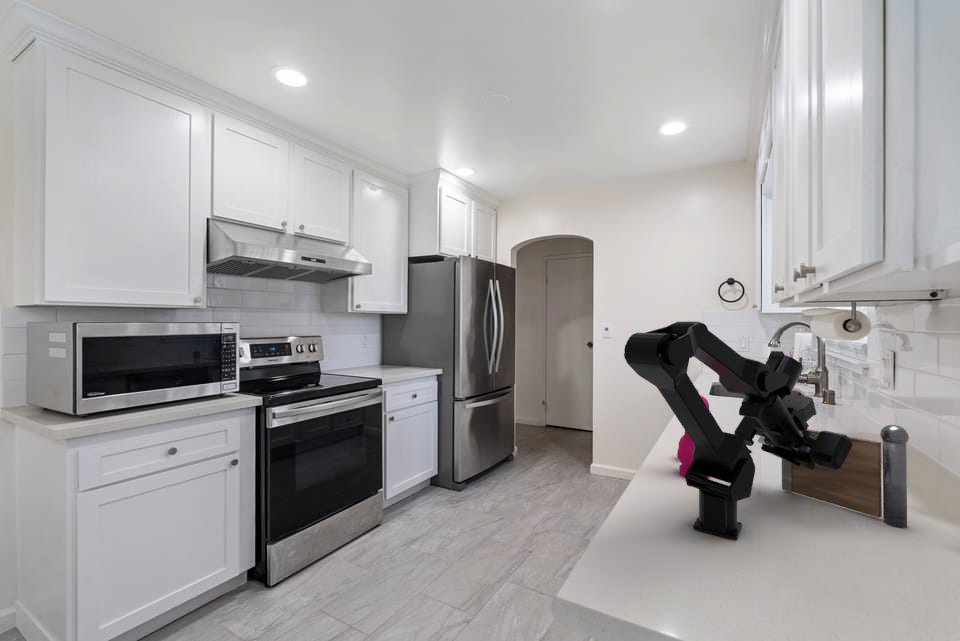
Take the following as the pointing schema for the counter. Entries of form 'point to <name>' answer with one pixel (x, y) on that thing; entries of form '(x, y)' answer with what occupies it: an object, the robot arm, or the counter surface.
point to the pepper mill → (687, 449)
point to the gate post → (894, 475)
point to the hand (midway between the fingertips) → (806, 466)
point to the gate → (842, 479)
